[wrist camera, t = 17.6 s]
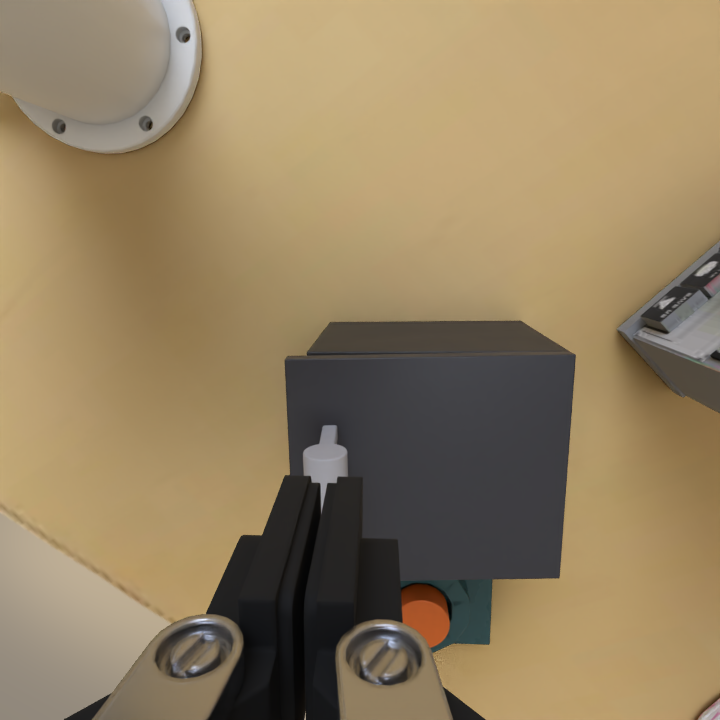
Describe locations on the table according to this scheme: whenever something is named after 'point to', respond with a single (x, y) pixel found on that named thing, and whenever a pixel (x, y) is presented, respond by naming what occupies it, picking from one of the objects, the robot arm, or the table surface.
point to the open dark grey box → (430, 338)
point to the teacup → (711, 712)
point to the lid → (443, 453)
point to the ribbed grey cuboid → (684, 331)
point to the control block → (464, 609)
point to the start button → (426, 612)
